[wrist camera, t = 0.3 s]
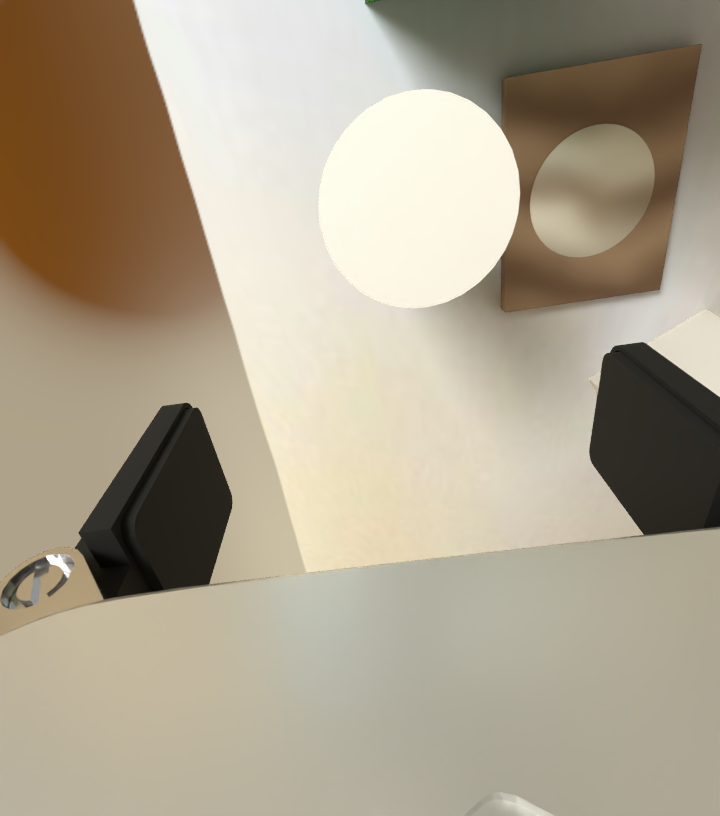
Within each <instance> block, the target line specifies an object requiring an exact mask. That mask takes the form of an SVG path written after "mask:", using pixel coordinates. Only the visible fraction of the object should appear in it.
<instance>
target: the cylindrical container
mask: <svg viewBox="0 0 720 816" xmlns="http://www.w3.org/2000/svg"><path fill="white" fill-rule="evenodd" d="M519 200H520V185H519V172H518V168H517V164H516V161H515V158H514V154H513V151H512V148H511V146H510V144H509V142H508V141H507V139H506V137H505V135H504V133H503V131H502V130H501V128H500V127H499V126H498V125H497V124H496V122H495V121H494V120H493V119H492V118H491V117H490V116H489V115H488V113H487V112H485V111H484V110H483V109H481V108H480V107H478V106H477V105H476V104H474V103H473V102H471V101H470V100H468V99H466V98H463V97H461V96H458V95H456V94H453V93H451V92H446V91H440V90H433V89H423V90H408V91H405V92H402V93H399V94H396V95H392V96H389V97H386V98H384V99H383V100H381V101H379V102H378V103H376V104H374V105H372V106H371V107H369V108H367V109H366V110H365V111H364V112H363V113H361V114H360V115H359V116H358V117H357V118H356V119H355V120H354V121H353V122H352V123H351V124H350V125H348V127H347V128H346V130H345V131H344V132H343V134H342V135H341V137H340V138H339V139H338V141H337V142H336V144H335V145H334V147H333V149H332V152H331V154H330V156H329V158H328V160H327V162H326V165H325V168H324V172H323V176H322V180H321V184H320V191H319V203H318V209H319V219H320V228H321V231H322V235H323V238H324V242H325V245H326V248H327V250H328V252H329V254H330V256H331V258H332V260H333V262H334V264H335V266H336V267H337V268H338V269H339V271H340V272H341V273H342V274H343V276H344V277H345V278H346V279H347V281H348V282H350V283H351V284H352V285H353V286H354V287H356V288H357V289H358V290H359V291H360V292H362V293H363V294H365V295H367V296H369V297H371V298H372V299H374V300H376V301H378V302H381V303H385V304H388V305H391V306H395V307H403V308H423V307H430V306H434V305H438V304H442V303H446V302H448V301H450V300H452V299H454V298H456V297H458V296H460V295H462V294H464V293H465V292H467V291H468V290H470V289H471V288H472V287H474V286H475V285H476V284H478V283H479V282H480V281H481V280H482V279H483V278H484V277H485V276H486V275H487V274H488V273H489V272H490V271H491V270H492V269H493V268H494V266H495V265H496V263H497V262H498V260H499V259H500V257H501V256H502V254H503V253H504V251H505V249H506V247H507V245H508V243H509V241H510V238H511V236H512V234H513V231H514V227H515V224H516V220H517V216H518V210H519Z"/></svg>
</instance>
